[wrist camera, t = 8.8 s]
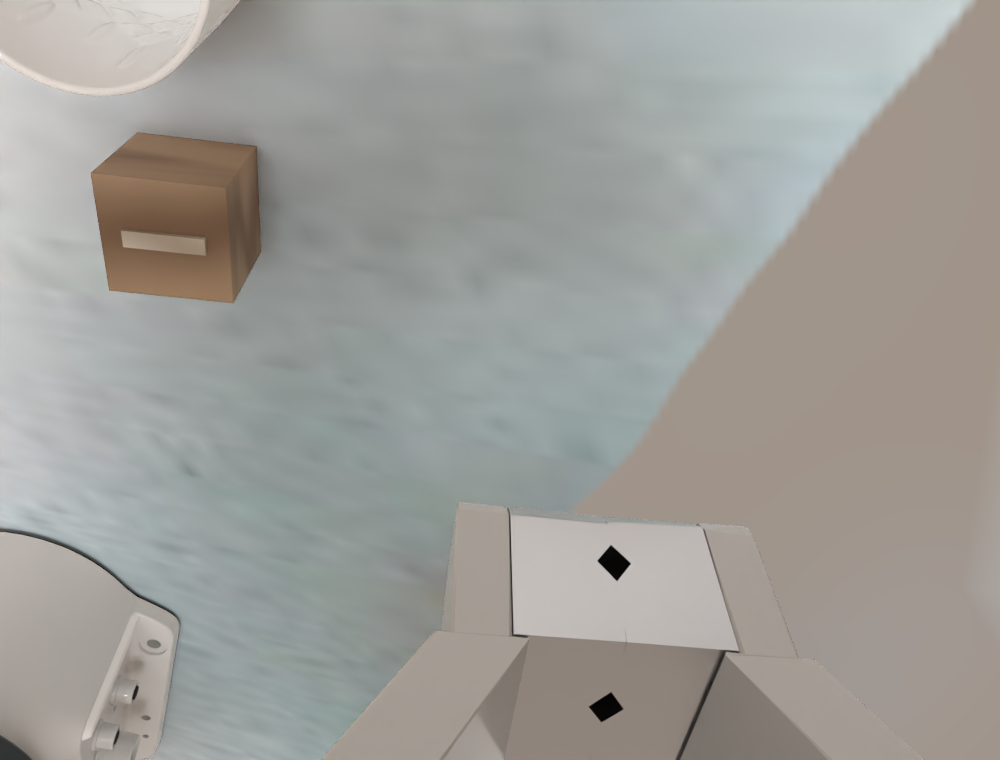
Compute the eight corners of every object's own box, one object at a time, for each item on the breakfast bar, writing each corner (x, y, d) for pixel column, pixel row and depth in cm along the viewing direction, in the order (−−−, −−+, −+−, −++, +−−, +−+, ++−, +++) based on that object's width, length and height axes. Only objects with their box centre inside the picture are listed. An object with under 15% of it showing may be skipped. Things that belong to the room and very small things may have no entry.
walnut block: (261, 251, 39) (231, 305, 34) (151, 239, 38) (107, 292, 34) (256, 145, 36) (224, 190, 32) (137, 131, 35) (88, 174, 31)
